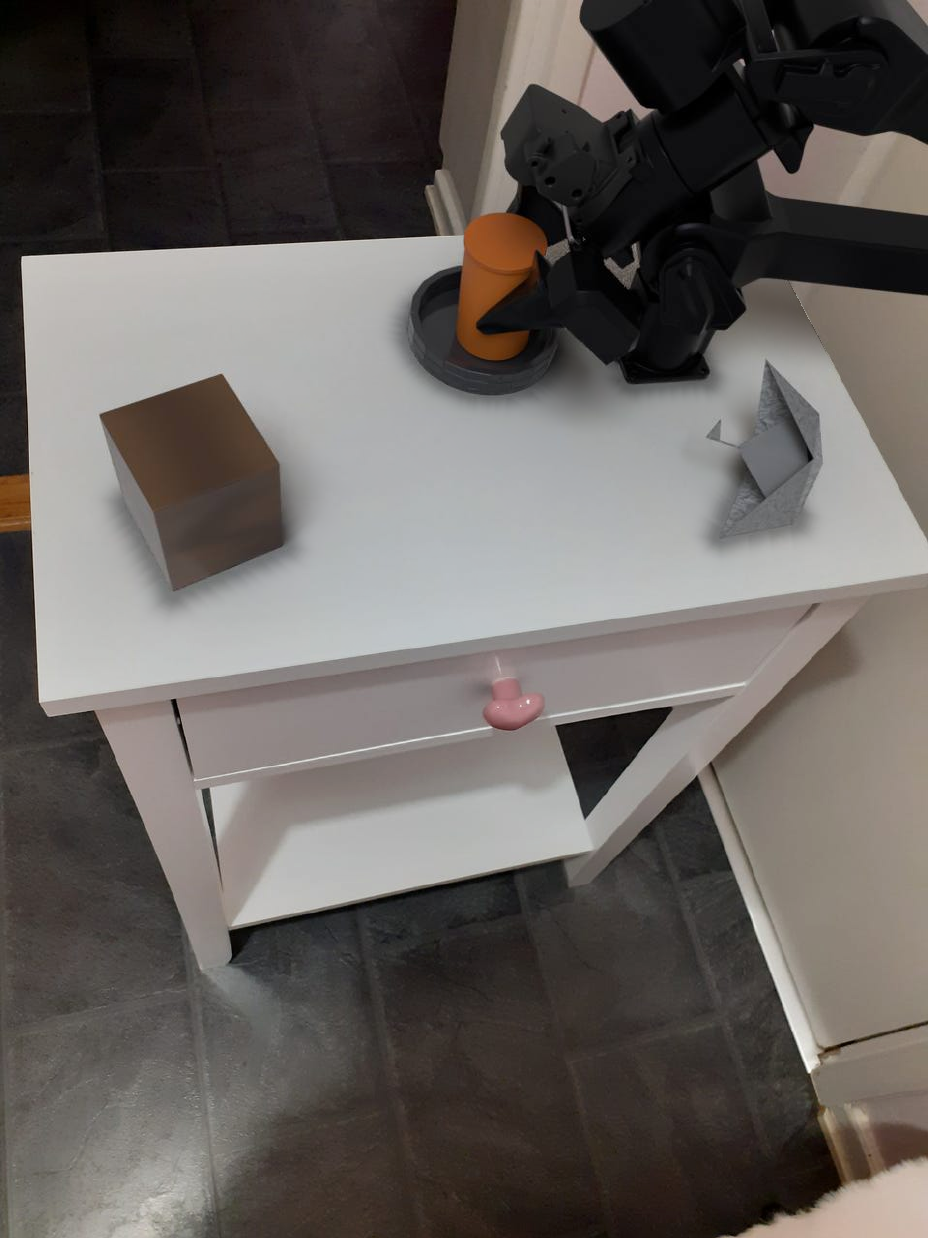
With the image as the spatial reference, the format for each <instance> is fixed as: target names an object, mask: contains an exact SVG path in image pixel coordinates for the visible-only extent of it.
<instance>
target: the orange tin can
mask: <svg viewBox="0 0 928 1238" xmlns="http://www.w3.org/2000/svg"><path fill="white" fill-rule="evenodd" d="M463 233H464V234H463V241H462V243H463V257H462V265H463V266H462V276H461V286H460V296H459V306H458V316H457V326H456V335H457V338H458V341H459V343H460V344H461V346H462V347H463V348H464V349H465V350H466V351H468V352H469V353H470V354H472V355H474V356H476V357H479V358H482V359H486V360H495V361H498V360H505V359H509V358H512V357H514V356H516V355H518V354H519V353H520V352H521V351H522V350H523V349H524V348H525V346H526V344H527V342H528V337H529V332H530V330H527V331H519V332H510V333H502V334H493V335H484V334H482V333H481V332H480V331H479V330H478V329H477V328H476V322H477V321H478V320H479V319H480V318H481V317H482V316H483V315H484V314H485V313H486V312H487V311H488V310H489V309H490V308H492V307H493V306H494V305H495V304H496V303H498V302H499V301H500V300H501V299H502V298H504V297H505V296H506V295H507V294H509V293H510V292H511V291H512V290H513V289H515V288H516V287H517V286H518V285H519V284H521V283H522V282H523V281H524V280H525V279H527V278H528V277H529V275H530V272H531V267H532V261H533V256H534V252H535V250H536V249H537V250H538V251H539V252H540V253H541V254H542V255H543V256H544V257H545V258H546V255H547V252H548V248H547V239H546V236H545V234H544V232H543V231H542V230H541V229H540V228H539V226H537V225H536V224H535V223H534V222H532V221H531V220H529V219H527V218H525V217H522V216H519V215H516V214H511V213H505V212H490V213H487V214H486V213H485V214H483V215H480V216H478V217H476V218H475V219H473V220H472V221H471V222H470V223H469V224H468V225H467V226H466V228H465V230H464V232H463Z"/></svg>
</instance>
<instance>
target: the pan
mask: <svg viewBox="0 0 928 1238" xmlns="http://www.w3.org/2000/svg"><path fill="white" fill-rule="evenodd" d="M462 266H463V264H461V265H455V266H452V267H448V268H445V269H441V270H439V271H436V272H435V273H433V274H432V275H430V276H428V277H427V278H425V280H423V281H422V282H421V284H420V285H419V286H418V288H417V289H416V291H415V292H414V293H413V295H412V298H411V303H410V308H409V314H408V322H407V337H408V343H409V346H410V348H411V351H412V353H413V355H414V357H415V358H416V360H417V361H418V362H419V364H420V366H422V367H423V368H424V369H425V371H427V372H428V373H429V374H430V375H432V376H433V377H434V378H436V379H437V380H439V381H440V382H442V383H444V384H446V385H447V386H450V387H452V388H454V389H457V390H460V391H464V392H467V393H471V394H477V395H485V396H499V395H507V394H512V393H516V392H519V391H521V390H524V389H526V388H528V387H530V386H532V385H533V384H535V383H536V382H538V381H539V380H540V379H541V378H542V377H543V376H544V375H545V374H546V372H547V371H548V369H549V367H550V365H551V363H552V360H553V359H554V356H555V353H556V350H557V348H558V344H559V341H560V330H561V328H548V329H537V330H536V329H535V330H530V332H529V337H528V342H527V344H526V346H525V348H524V349H523V350H522V351H521V352H520V353H519V354H518V355H516V356H514V357H512V358H509V359H505V360H498V361H495V360H486V359H482V358H479V357H476V356H474V355H472V354H470V353H469V352H468V351H466V350H465V349H464V348H463V347H462V346H461V344H460V343H459V341H458V338H457V335H456V326H457V316H458V306H459V296H460V286H461V276H462Z"/></svg>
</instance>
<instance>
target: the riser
mask: <svg viewBox="0 0 928 1238" xmlns="http://www.w3.org/2000/svg"><path fill="white" fill-rule="evenodd" d="M98 416H99V420H100V423H101V426H102V430H103V434H104V437H105V441H106V444H107V448H108V451H109V454H110V458H111V461H112V465H113V468H114V471H115V476H116V478H117V479H116V480H117V482H118V485H119V489H120V492H121V495H122V496H121V497H122V499H123V502H124V504H125V507H126V508H127V510H128V512H129V514H130V515H131V517H132V520H133V521H134V523H135V525H136V527H137V528H138V530H139V532H140V533H141V535H142V538H143V540H144V541H145V543H146V545H147V547H148V549H149V551H150V552H151V554H152V556H153V559H155V561H156V563H157V565H158V567H159V569H160V570H161V572H162V574H163V576H164V578H165V580H166V581H167V583H168V585H169V587H170V589H171V591H173V592H175V591H177V590H180V589H182V588H184V587H187V586H189V585H191V584H192V585H193V584H194V583H196V582H199V581H201V580H204V579H206V578H208V577H211V576H214V575H216V574H218V573H221V572H223V571H225V570H228V569H230V568H233V567H235V566H238V565H240V564H242V563H244V562H247V561H249V560H252V559H254V558H257V557H259V556H262V555H264V554H267V553H269V552H272V551H273V550H276V549H279V548H282V547H283V545H284V542H283V540H284V539H283V515H282V514H283V513H282V489H281V466H280V465H281V463H280V462H279V460H278V459H277V457H276V456H275V454H274V453H273V451H272V449H271V448H270V446H269V444H268V443H267V442H266V440H265V438H264V436H263V435H262V434H261V432H260V431H259V429H258V428H257V426H256V424H255V422H254V421H253V420H252V418H251V416H250V415H249V413H248V411H247V409H245V406H244V405H243V404H242V401H240V399H239V397H238V396H237V394H236V393H235V391H234V389H233V388H232V386H231V385H230V383H229V381H228V380H227V378H226V377H225V375H224V374H223V373H219V374H216V375H213V376H209V377H206V378H204V379H201V380H197V381H195V382H192V383H189V384H185V385H183V386H179V387H176V388H173V389H170V390H167V391H165V392H164V391H163V392H162V393H158V394H156V395H152V396H150V397H146V398H143V399H140V400H137V401H134V402H131V403H127V404H125V405H122V406H119V407H115V408H113V409H109V410H107V411H104V412H101V413H99V415H98Z"/></svg>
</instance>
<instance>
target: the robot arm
mask: <svg viewBox="0 0 928 1238" xmlns="http://www.w3.org/2000/svg"><path fill="white" fill-rule="evenodd" d="M578 20H579V23H580V25H581V26H582V28H583V29H584V30H585V32H586V33H587V35H588V36H589V37H590V39H591V40H592V42H593V43H594V44H595V45H596V47H597V49H598V50H599V51H600V53H601V54H602V55H603V56H604V58H605V59H606V61H607V62H608V63H609V65H610V66H611V67H612V69H613V70H614V72H615V73H616V74H617V76H618V77H619V78H620V80H621V81H622V83H624V85H625V86H626V88H627V89H628V91H629V92H630V93H631V95H632V96H633V98H634V99H635V100H636V101H637V104H639V106H641V107H642V108H645V109H647V110H649V109H650V110H651V111H650V112H648V113H647V114H646V115H644V116H643V117H641V118H639V117H638V115H637V114H636V113H635V112H634V110H633V108H631V107H630V108H628V110H626V111H625V110H620V111H618V112H617V113H615V114H614V115H613V116H611V117H610V118H608V119H606V120H605V121H601V120H600V119H598V118H596V117H595V116H593V115H592V114H590V113H589V112H588V111H587V110H586V109H584V108H583V107H581V106H580V105H578V104H577V103H574V102H572V101H570V100H568V99H566V98H565V97H562V96H560V95H559V94H557V93H555V92H553V91H550V90H549V89H547V88H545V87H543V86H541V85H539V84H536V83H530V84H528V86H527V87H526V89H525V90H524V92H523V94H522V95H521V97H520V99H519V100H518V102H517V103H516V105H515V106H514V108H513V109H512V111H511V113H510V115H509V117H508V118H507V120H506V122H505V123H504V124H503V127H502V128H501V129H500V132H499V134H500V135H499V136H500V140H501V141H502V142H503V147H504V148H503V149H504V154H505V156H504V160H503V162H504V168H505V170H506V172H507V174H508V175H509V176H510V177H511V178H512V179H513V180H514V181H516V182H517V189H516V193H515V196H514V198H513V199H512V201H511V202H510V204H509V206H508V207H507V209H506V211H505V212H504V213H511V214H516V215H519V216H522V217H525V218H527V219H529V220H531V221H532V222H534V223H535V224H536V225H537V226H539V228H540V229H541V230H542V231H543V232H544V234H545V236H546V239H547V249H548V248H551V247H552V246H555V245H557V244H559V243H561V242H564V241H566V240H567V245H568V250H569V251H568V252H566V253H565V254H563V255H562V256H560V257H559V258H557V259H556V260H555V261H554V263H553V264H552V263H551V262H550V261H549V260H548V259H547V258H546V256H545V257H544V256H543V255H542V254H541V253H540V252H539V251H538V250H537V249H536V250H535V252H534V256H533V261H532V267H531V272H530V275H529V277H528V278H527V279H525V280H524V281H523V282H522V283H521V284H519V285H518V286H517V287H516V288H515V289H513V290H512V291H511V292H510V293H509V294H507V295H506V296H505V297H504V298H502V299H501V300H500V301H499V302H498V303H496V304H495V305H494V306H493V307H492V308H490V309H489V310H488V311H487V312H486V313H485V314H484V315H483V316H482V317H481V318H480V319H479V320H478V321H477V322H476V328H477V329H478V330H479V331H480V332H481V333H482V334H484V335H493V334H502V333H510V332H519V331H527V330H535V329H536V330H537V329H548V328H560V329H566V330H567V331H568V332H569V333H570V334H571V335H572V336H574V338H576V339H577V340H578V341H579V342H580V343H581V344H582V345H583V346H584V347H586V348H587V349H588V350H589V351H590V353H592V354H593V355H594V356H595V357H596V358H598V360H599V361H601V362H602V363H603V364H604V365H605V366H607V367H608V366H609V365H610V364H612V363H613V362H615V361H617V360H618V361H619V364H620V368H621V370H622V372H623V375H624V377H625V379H626V381H627V382H628V383H630V384H645V383H661V382H676V381H677V382H678V381H693V380H705V379H707V378H708V377H709V375H710V373H711V369H710V367H709V365H708V361H707V360H706V358H705V354H706V351H707V349H708V347H709V346H710V344H711V342H712V340H713V337H714V336H715V333H716V332H717V331H727V330H728V329H729V328H730V327H732V325H734V324H735V323H736V321H738V320H739V319H740V318H741V317H742V316H743V315H744V314H745V313H746V312H747V305H746V301H745V297H744V292H743V287H746V286H747V285H750V284H752V283H754V282H757V281H758V280H760V279H761V280H762V279H769V280H778V281H779V280H780V281H788V282H798V283H806V284H815V285H824V286H835V287H842V288H851V289H852V288H853V289H860V290H870V291H878V292H888V293H896V294H904V295H905V294H906V295H914V296H923V297H928V214H919V213H910V212H903V211H902V212H901V211H894V210H887V209H880V208H870V207H863V206H855V205H846V204H839V203H830V202H824V201H823V202H821V201H814V200H807V199H799V198H789V197H783V196H779V195H775V194H773V193H772V192H770V191H768V190H767V189H766V187H765V181H764V179H763V176H762V172H761V167H760V164H759V160H760V159H761V158H763V157H764V156H766V155H767V154H769V153H770V152H771V151H773V152H774V154H775V156H776V157H777V159H778V160H779V162H780V163H781V165H782V166H783V168H784V170H785V171H786V173H787V174H789V175H794V174H796V173H798V172H799V170H800V169H801V165H802V162H803V158H804V155H805V149H806V145H807V142H808V140H809V138H810V136H811V134H812V132H813V131H814V129H815V125H816V126H817V127H822V128H826V129H831V130H833V131H834V130H835V131H839V132H843V133H847V134H851V135H855V136H860V137H870V136H871V137H872V136H875V135H880V134H886V133H895V134H900V135H903V136H906V137H907V136H908V137H911V138H913V139H915V140H916V141H919V142H920V143H922V144H924V145H927V146H928V24H927V23H926V21H924V19H923V18H922V17H921V16H920V14H919V13H918V12H917V11H916V9H915V8H914V6H913V5H912V4H911V3H910V2H909V1H908V0H582V2H581V5H580V9H579V19H578ZM740 60H743V63H744V65H743V64H742V62H741V61H740ZM634 245H635V248H636V254H637V258H638V259H637V261H638V266H639V267H637V268H636V270H635V272H634V275H633V278H632V280H631V283H630V285H629V287H628V288H627V286H626V285H624V283H623V282H622V281H621V280H620V279H619V278H618V277H617V276H616V275H615V273H614V272H613V271H612V270H611V269H610V268H609V267H608V266H607V265H606V264H605V261H607V260H609V259H611V260H612V261H613V263H614V264H616V266H617V267H618V268H619V269H620V270H624V269H625V268H627V267H628V266H630V265H631V264H633V263H634V262H636V258H635V254H634V249H633V246H634Z"/></svg>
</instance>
